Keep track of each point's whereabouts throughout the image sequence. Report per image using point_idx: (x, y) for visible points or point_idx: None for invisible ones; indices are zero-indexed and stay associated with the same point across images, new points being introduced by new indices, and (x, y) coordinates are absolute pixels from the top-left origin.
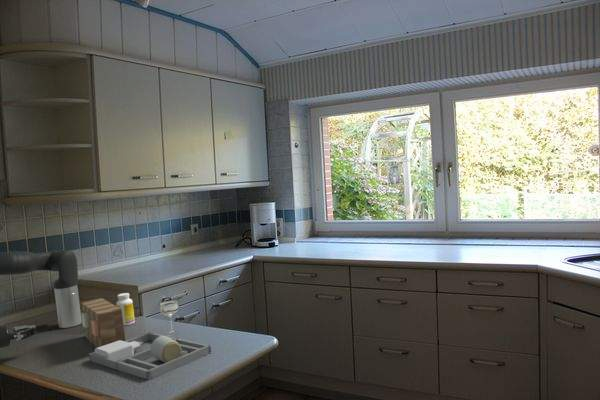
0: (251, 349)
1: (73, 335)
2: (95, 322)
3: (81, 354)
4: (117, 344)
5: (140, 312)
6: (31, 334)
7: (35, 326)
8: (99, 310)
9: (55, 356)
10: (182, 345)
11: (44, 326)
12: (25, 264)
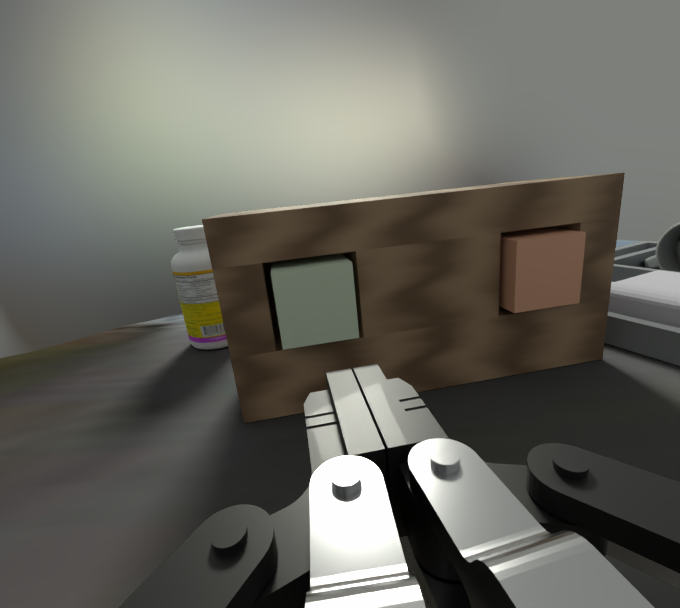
0: (626, 243)
1: (120, 475)
2: (574, 231)
3: (602, 415)
4: (678, 280)
5: (124, 328)
6: (668, 585)
7: (452, 440)
8: (527, 182)
9: (624, 548)
10: (637, 253)
11: (411, 392)
12: None
